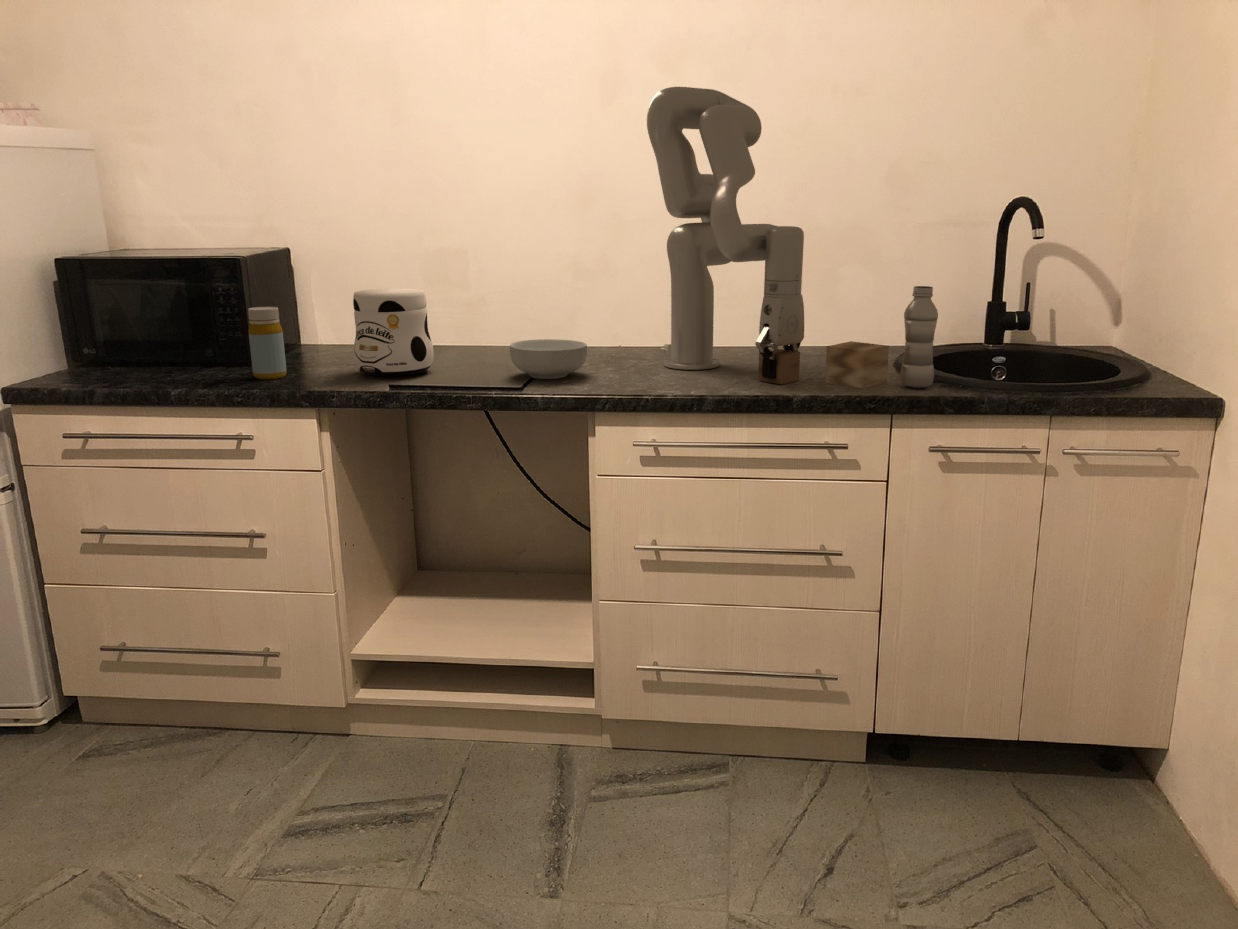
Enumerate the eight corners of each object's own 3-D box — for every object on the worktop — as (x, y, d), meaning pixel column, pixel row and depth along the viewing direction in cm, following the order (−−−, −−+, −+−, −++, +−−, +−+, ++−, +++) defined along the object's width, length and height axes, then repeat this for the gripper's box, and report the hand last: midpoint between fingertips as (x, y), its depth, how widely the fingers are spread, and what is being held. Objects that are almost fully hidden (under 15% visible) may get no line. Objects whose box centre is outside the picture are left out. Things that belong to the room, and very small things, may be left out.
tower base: (825, 384, 205) (826, 365, 204) (849, 378, 211) (850, 360, 210) (863, 390, 199) (864, 370, 198) (886, 383, 205) (888, 364, 204)
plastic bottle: (916, 391, 195) (923, 289, 189) (892, 386, 200) (898, 286, 195) (940, 388, 197) (948, 287, 192) (916, 383, 203) (923, 284, 198)
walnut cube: (758, 380, 207) (759, 351, 205) (775, 376, 211) (776, 348, 209) (781, 384, 203) (783, 355, 201) (798, 380, 207) (800, 351, 205)
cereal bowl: (578, 384, 206) (577, 350, 204) (501, 382, 209) (499, 349, 207) (594, 369, 222) (594, 338, 220) (523, 368, 225) (521, 337, 223)
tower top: (825, 365, 204) (826, 346, 203) (850, 360, 210) (851, 341, 209) (864, 370, 198) (865, 350, 197) (887, 364, 204) (889, 345, 203)
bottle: (293, 374, 219) (286, 306, 215) (273, 380, 213) (265, 310, 209) (267, 373, 222) (260, 305, 218) (246, 378, 215) (238, 309, 211)
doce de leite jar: (351, 382, 211) (343, 296, 206) (359, 368, 227) (352, 288, 222) (433, 379, 213) (428, 294, 208) (435, 365, 230) (431, 287, 225)
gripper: (772, 293, 193) (768, 384, 198) (822, 286, 205) (817, 372, 210) (741, 290, 198) (738, 379, 203) (792, 284, 210) (788, 367, 215)
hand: (778, 374), depth 206 cm, fingers closed on walnut cube, 6 cm apart
